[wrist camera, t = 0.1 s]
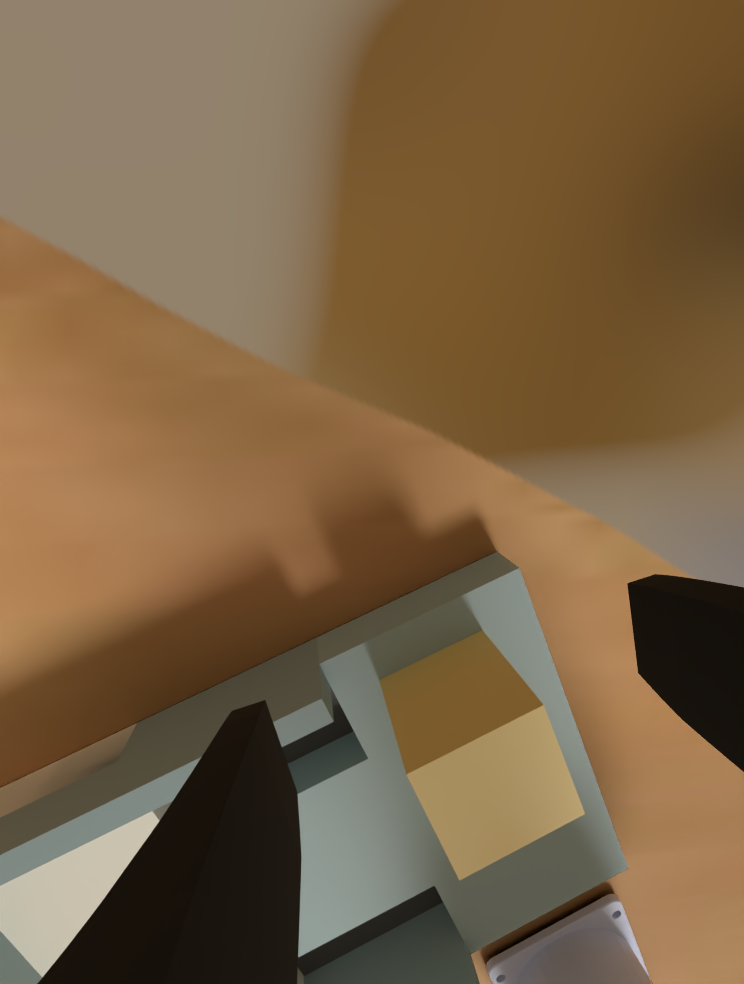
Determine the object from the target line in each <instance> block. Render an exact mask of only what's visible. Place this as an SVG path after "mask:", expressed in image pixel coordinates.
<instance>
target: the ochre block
mask: <svg viewBox="0 0 744 984" xmlns="http://www.w3.org/2000/svg"><path fill="white" fill-rule="evenodd" d="M379 682H380V685H381V688H382V692H383V695H384V699H385V702H386V706H387V709H388V713H389V716H390V720H391V723H392V727H393V730H394V733H395V737H396V740H397V744H398V747H399V751H400V754H401V758H402V761H403V765H404V768H405V771H406V775H407V777H408V779H409V781H410V783H411V785H412V787H413V789H414V791H415V793H416V795H417V797H418V799H419V801H420V803H421V805H422V807H423V809H424V811H425V813H426V815H427V817H428V819H429V821H430V823H431V825H432V827H433V829H434V831H435V833H436V835H437V837H438V839H439V841H440V843H441V845H442V847H443V849H444V851H445V853H446V855H447V857H448V859H449V861H450V863H451V865H452V867H453V869H454V871H455V873H456V875H457V877H458V879H459V881H460V880H462V879H464V878H465V877H467V876H469V875H471V874H473V873H475V872H477V871H479V870H481V869H482V868H484V867H486V866H488V865H490V864H492V863H494V862H496V861H498V860H499V859H501V858H503V857H505V856H507V855H509V854H511V853H513V852H514V851H516V850H518V849H520V848H522V847H524V846H526V845H528V844H530V843H531V842H533V841H535V840H537V839H539V838H541V837H543V836H545V835H547V834H548V833H550V832H552V831H554V830H556V829H558V828H560V827H562V826H564V825H565V824H567V823H569V822H571V821H573V820H575V819H577V818H579V817H581V816H582V815H584V814H585V812H584V809H583V807H582V804H581V801H580V799H579V796H578V794H577V791H576V788H575V786H574V783H573V780H572V778H571V775H570V773H569V770H568V767H567V765H566V762H565V759H564V757H563V754H562V752H561V749H560V746H559V744H558V741H557V738H556V736H555V733H554V731H553V728H552V725H551V723H550V720H549V717H548V715H547V712H546V710H545V707H544V705H543V703H542V702H541V701H540V700H539V698H538V697H537V696H536V695H535V694H534V692H533V691H532V690H531V689H530V687H529V686H528V685H527V684H526V683H525V681H524V680H523V679H522V678H521V676H520V675H519V674H518V673H517V672H516V670H515V669H514V668H513V667H512V665H511V664H510V663H509V662H508V661H507V659H506V658H505V657H504V656H503V654H502V653H501V652H500V651H499V650H498V648H497V647H496V646H495V645H494V643H493V642H492V641H491V640H490V638H489V637H488V636H487V635H486V634H485V632H484V631H483V630H481V631H479V632H477V633H475V634H473V635H471V636H469V637H467V638H465V639H463V640H461V641H459V642H457V643H455V644H453V645H451V646H449V647H446V648H444V649H442V650H440V651H438V652H436V653H434V654H432V655H430V656H428V657H426V658H424V659H422V660H420V661H418V662H416V663H414V664H412V665H410V666H408V667H406V668H403V669H401V670H399V671H397V672H395V673H393V674H391V675H389V676H387V677H385V678H383V679H381V680H379Z"/></svg>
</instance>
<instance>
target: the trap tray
mask: <svg viewBox="0 0 744 984" xmlns="http://www.w3.org/2000/svg"><path fill="white" fill-rule="evenodd" d="M481 630H483V631H484V632H485V634H486V635H487V636H488V637H489V638H490V640H491V641H492V642H493V643H494V645H495V646H496V647H497V648H498V650H499V651H500V652H501V653H502V654H503V656H504V657H505V658H506V659H507V661H508V662H509V663H510V664H511V665H512V667H513V668H514V669H515V670H516V672H517V673H518V674H519V675H520V676H521V678H522V679H523V680H524V681H525V683H526V684H527V685H528V686H529V687H530V689H531V690H532V691H533V692H534V694H535V695H536V696H537V697H538V698H539V700H540V701H541V702H542V703H543V705H544V707H545V710H546V712H547V715H548V717H549V720H550V723H551V725H552V728H553V731H554V733H555V736H556V738H557V741H558V744H559V746H560V749H561V752H562V754H563V757H564V759H565V762H566V765H567V767H568V770H569V773H570V775H571V778H572V780H573V783H574V786H575V788H576V791H577V794H578V796H579V799H580V801H581V804H582V807H583V809H584V812H585V814H584V815H582V816H581V817H579V818H577V819H575V820H573V821H571V822H569V823H567V824H565V825H564V826H562V827H560V828H558V829H556V830H554V831H552V832H550V833H548V834H547V835H545V836H543V837H541V838H539V839H537V840H535V841H533V842H531V843H530V844H528V845H526V846H524V847H522V848H520V849H518V850H516V851H514V852H513V853H511V854H509V855H507V856H505V857H503V858H501V859H499V860H498V861H496V862H494V863H492V864H490V865H488V866H486V867H484V868H482V869H481V870H479V871H477V872H475V873H473V874H471V875H469V876H467V877H465V878H464V879H462V880H460V881H459V879H458V877H457V875H456V873H455V871H454V869H453V867H452V865H451V863H450V861H449V859H448V857H447V855H446V853H445V851H444V849H443V847H442V845H441V843H440V841H439V839H438V837H437V835H436V833H435V831H434V829H433V827H432V825H431V823H430V821H429V819H428V817H427V815H426V813H425V811H424V809H423V807H422V805H421V803H420V801H419V799H418V797H417V795H416V793H415V791H414V789H413V787H412V785H411V783H410V781H409V779H408V777H407V775H406V771H405V768H404V765H403V761H402V758H401V754H400V751H399V747H398V744H397V740H396V737H395V733H394V730H393V727H392V723H391V720H390V716H389V713H388V709H387V706H386V702H385V699H384V695H383V692H382V688H381V685H380V682H379V680H381V679H383V678H385V677H387V676H389V675H391V674H393V673H395V672H397V671H399V670H401V669H403V668H406V667H408V666H410V665H412V664H414V663H416V662H418V661H420V660H422V659H424V658H426V657H428V656H430V655H432V654H434V653H436V652H438V651H440V650H442V649H444V648H446V647H449V646H451V645H453V644H455V643H457V642H459V641H461V640H463V639H465V638H467V637H469V636H471V635H473V634H475V633H477V632H479V631H481ZM264 700H266V703H267V706H268V709H269V712H270V715H271V718H272V720H273V723H274V726H275V729H276V732H277V735H278V738H279V741H280V743H281V746H282V749H283V752H284V755H285V758H286V761H287V763H288V766H289V769H290V772H291V775H292V778H293V781H294V784H295V786H296V789H297V795H298V809H299V823H300V839H301V891H300V921H299V947H298V973H297V984H480V983H479V980H478V977H477V973H476V970H475V967H474V964H473V961H472V957H471V954H472V953H474V952H476V951H478V950H480V949H481V948H483V947H485V946H487V945H489V944H491V943H492V942H494V941H496V940H498V939H500V938H502V937H503V936H505V935H507V934H509V933H511V932H513V931H514V930H516V929H518V928H520V927H522V926H524V925H526V924H527V923H529V922H531V921H533V920H535V919H537V918H538V917H540V916H542V915H544V914H546V913H548V912H549V911H551V910H553V909H555V908H557V907H559V906H560V905H562V904H564V903H566V902H568V901H570V900H571V899H573V898H575V897H577V896H579V895H581V894H582V893H584V892H586V891H588V890H590V889H592V888H594V887H595V886H597V885H599V884H601V883H603V882H605V881H606V880H608V879H610V878H612V877H614V876H616V875H617V874H619V873H621V872H623V871H625V870H627V869H628V866H627V863H626V861H625V858H624V855H623V852H622V849H621V847H620V844H619V841H618V838H617V836H616V833H615V830H614V827H613V825H612V822H611V819H610V816H609V814H608V811H607V808H606V805H605V803H604V800H603V797H602V794H601V792H600V789H599V786H598V783H597V781H596V778H595V775H594V772H593V770H592V767H591V764H590V761H589V759H588V756H587V753H586V750H585V748H584V745H583V742H582V739H581V737H580V734H579V731H578V728H577V726H576V723H575V720H574V717H573V715H572V712H571V709H570V706H569V704H568V701H567V698H566V695H565V693H564V690H563V687H562V684H561V682H560V679H559V676H558V673H557V671H556V668H555V665H554V662H553V660H552V657H551V654H550V651H549V649H548V646H547V643H546V640H545V638H544V635H543V632H542V629H541V627H540V624H539V621H538V618H537V616H536V613H535V610H534V607H533V605H532V602H531V599H530V596H529V594H528V591H527V588H526V585H525V583H524V580H523V577H522V574H521V571H520V569H519V567H517V566H516V565H514V564H513V563H512V562H510V561H509V560H508V559H506V558H505V557H504V556H502V555H501V554H500V553H498V552H495V553H493V554H491V555H489V556H486V557H484V558H482V559H480V560H478V561H476V562H474V563H472V564H470V565H468V566H465V567H463V568H461V569H459V570H457V571H455V572H453V573H451V574H449V575H447V576H444V577H442V578H440V579H438V580H436V581H434V582H432V583H430V584H428V585H426V586H423V587H421V588H419V589H417V590H415V591H413V592H411V593H409V594H407V595H405V596H402V597H400V598H398V599H396V600H394V601H392V602H390V603H388V604H386V605H384V606H381V607H379V608H377V609H375V610H373V611H371V612H369V613H367V614H365V615H363V616H360V617H358V618H356V619H354V620H352V621H350V622H348V623H346V624H344V625H342V626H339V627H337V628H335V629H333V630H331V631H329V632H327V633H325V634H323V635H321V636H318V637H316V638H314V639H312V640H310V641H308V642H306V643H304V644H302V645H300V646H297V647H295V648H293V649H291V650H289V651H287V652H285V653H283V654H281V655H279V656H276V657H274V658H272V659H270V660H268V661H266V662H264V663H262V664H260V665H258V666H255V667H253V668H251V669H249V670H247V671H245V672H243V673H241V674H239V675H237V676H234V677H232V678H230V679H228V680H226V681H224V682H222V683H220V684H218V685H216V686H213V687H211V688H209V689H207V690H205V691H203V692H201V693H199V694H197V695H195V696H192V697H190V698H188V699H186V700H184V701H182V702H180V703H178V704H176V705H174V706H171V707H169V708H167V709H165V710H163V711H161V712H159V713H157V714H155V715H153V716H150V717H148V718H146V719H144V720H142V721H140V722H138V723H136V724H134V725H132V726H129V727H127V728H125V729H123V730H121V731H119V732H117V733H115V734H113V735H111V736H108V737H106V738H104V739H102V740H100V741H98V742H96V743H94V744H92V745H90V746H87V747H85V748H83V749H81V750H79V751H77V752H75V753H73V754H71V755H69V756H66V757H64V758H62V759H60V760H58V761H56V762H54V763H52V764H50V765H48V766H45V767H43V768H41V769H39V770H37V771H35V772H33V773H31V774H29V775H27V776H24V777H22V778H20V779H18V780H16V781H14V782H12V783H10V784H8V785H6V786H3V787H1V788H0V984H38V982H39V981H40V980H41V979H42V977H43V976H44V975H45V974H46V972H47V971H48V970H49V969H50V967H51V966H52V965H53V964H54V963H55V961H56V960H57V959H58V958H59V956H60V955H61V954H62V953H63V951H64V950H65V949H66V948H67V946H68V945H69V944H70V942H71V941H72V940H73V939H74V937H75V936H76V935H77V933H78V932H79V931H80V929H81V928H82V927H83V926H84V924H85V923H86V922H87V920H88V919H89V918H90V916H91V915H92V914H93V913H94V911H95V910H96V909H97V907H98V906H99V905H100V903H101V902H102V901H103V899H104V898H105V896H106V895H107V894H108V892H109V891H110V889H111V888H112V887H113V885H114V884H115V883H116V881H117V880H118V878H119V877H120V876H121V874H122V873H123V871H124V870H125V869H126V867H127V866H128V864H129V863H130V862H131V860H132V859H133V857H134V856H135V855H136V853H137V852H138V850H139V849H140V848H141V846H142V845H143V843H144V842H145V841H146V839H147V838H148V836H149V835H150V834H151V832H152V831H153V829H154V828H155V827H156V825H157V824H158V822H159V821H160V819H161V818H162V816H163V815H164V813H165V812H166V810H167V809H168V807H169V806H170V804H171V803H172V801H173V800H174V798H175V797H176V795H177V794H178V792H179V791H180V789H181V788H182V786H183V785H184V783H185V782H186V780H187V779H188V777H189V776H190V774H191V773H192V771H193V770H194V768H195V766H196V765H197V763H198V762H199V760H200V759H201V757H202V756H203V754H204V752H205V751H206V749H207V748H208V746H209V745H210V743H211V741H212V740H213V738H214V737H215V735H216V734H217V732H218V730H219V729H220V727H221V726H222V724H223V723H224V721H225V720H226V718H227V717H228V715H229V714H230V712H231V711H232V710H236V709H239V708H242V707H245V706H248V705H251V704H254V703H257V702H260V701H264Z"/></svg>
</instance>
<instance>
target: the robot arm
mask: <svg viewBox="0 0 744 984" xmlns="http://www.w3.org/2000/svg"><path fill="white" fill-rule="evenodd" d="M628 592H629V600H630V608H631V617H632V625H633V633H634V641H635V650H636V658H637V666H638V673H639V674H640V675H641V677H642V678H643V679H644V680H645V681H646V682H647V683H648V684H649V685H650V686H651V687H652V689H653V690H654V691H655V692H656V693H657V694H658V695H659V696H660V697H661V698H662V699H663V700H664V701H665V702H666V703H667V704H668V705H669V707H670V708H671V709H672V710H673V711H674V712H675V713H676V714H677V715H678V716H679V717H680V718H681V719H682V720H683V721H685V722H686V723H687V724H688V725H689V726H690V727H692V728H693V729H694V730H695V731H696V732H697V733H698V734H700V735H701V736H702V737H703V738H704V739H705V740H707V741H708V742H709V743H710V744H711V745H713V746H714V747H715V748H716V749H717V750H718V751H720V752H721V753H722V754H723V755H724V756H725V757H727V758H728V759H729V760H730V761H731V762H733V763H734V764H735V765H736V766H737V767H739V768H740V769H741V770H742V771H743V772H744V588H743V587H738V586H732V585H727V584H721V583H716V582H710V581H704V580H697V579H691V578H684V577H677V576H668V575H657V574H655V575H652V576H649V577H646V578H643V579H639V580H636V581H633V582H630V583H628ZM300 891H301V839H300V823H299V809H298V795H297V789H296V786H295V784H294V781H293V778H292V775H291V772H290V769H289V766H288V763H287V761H286V758H285V755H284V752H283V749H282V746H281V743H280V741H279V738H278V735H277V732H276V729H275V726H274V723H273V720H272V718H271V715H270V712H269V709H268V706H267V703H266V700H264V701H260V702H257V703H254V704H251V705H248V706H245V707H242V708H239V709H236V710H232V711H231V712H230V714H229V715H228V717H227V718H226V720H225V721H224V723H223V724H222V726H221V727H220V729H219V730H218V732H217V734H216V735H215V737H214V738H213V740H212V741H211V743H210V745H209V746H208V748H207V749H206V751H205V752H204V754H203V756H202V757H201V759H200V760H199V762H198V763H197V765H196V766H195V768H194V770H193V771H192V773H191V774H190V776H189V777H188V779H187V780H186V782H185V783H184V785H183V786H182V788H181V789H180V791H179V792H178V794H177V795H176V797H175V798H174V800H173V801H172V803H171V804H170V806H169V807H168V809H167V810H166V812H165V813H164V815H163V816H162V818H161V819H160V821H159V822H158V824H157V825H156V827H155V828H154V829H153V831H152V832H151V834H150V835H149V836H148V838H147V839H146V841H145V842H144V843H143V845H142V846H141V848H140V849H139V850H138V852H137V853H136V855H135V856H134V857H133V859H132V860H131V862H130V863H129V864H128V866H127V867H126V869H125V870H124V871H123V873H122V874H121V876H120V877H119V878H118V880H117V881H116V883H115V884H114V885H113V887H112V888H111V889H110V891H109V892H108V894H107V895H106V896H105V898H104V899H103V901H102V902H101V903H100V905H99V906H98V907H97V909H96V910H95V911H94V913H93V914H92V915H91V916H90V918H89V919H88V920H87V922H86V923H85V924H84V926H83V927H82V928H81V929H80V931H79V932H78V933H77V935H76V936H75V937H74V939H73V940H72V941H71V942H70V944H69V945H68V946H67V948H66V949H65V950H64V951H63V953H62V954H61V955H60V956H59V958H58V959H57V960H56V961H55V963H54V964H53V965H52V966H51V967H50V969H49V970H48V971H47V972H46V974H45V975H44V976H43V977H42V979H41V980H40V981H39V982H38V984H297V973H298V947H299V921H300ZM486 969H487V972H488V975H489V977H490V979H491V981H492V983H493V984H653V983H652V981H651V979H650V976H649V974H648V971H647V969H646V966H645V963H644V961H643V958H642V955H641V953H640V950H639V947H638V945H637V942H636V940H635V937H634V934H633V932H632V929H631V926H630V924H629V921H628V918H627V916H626V913H625V910H624V908H623V905H622V903H621V901H620V900H619V898H618V897H617V895H615V894H608V895H606V896H604V897H602V898H600V899H598V900H597V901H595V902H593V903H591V904H589V905H587V906H586V907H584V908H582V909H580V910H578V911H576V912H575V913H573V914H571V915H569V916H567V917H566V918H564V919H562V920H560V921H558V922H556V923H555V924H553V925H551V926H549V927H547V928H545V929H544V930H542V931H540V932H538V933H536V934H534V935H533V936H531V937H529V938H527V939H525V940H523V941H522V942H520V943H518V944H516V945H514V946H512V947H511V948H509V949H507V950H505V951H503V952H502V953H500V954H498V955H496V956H494V957H492V958H491V959H490V960H489V961H488V962H487V965H486Z"/></svg>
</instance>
